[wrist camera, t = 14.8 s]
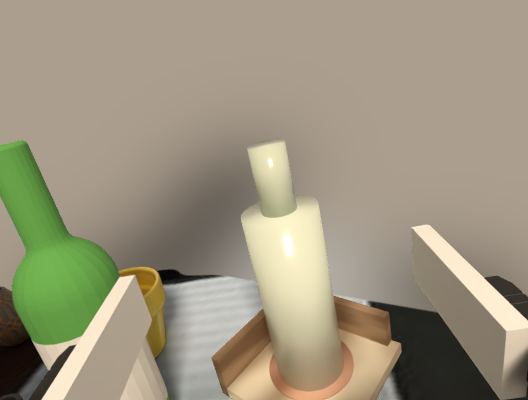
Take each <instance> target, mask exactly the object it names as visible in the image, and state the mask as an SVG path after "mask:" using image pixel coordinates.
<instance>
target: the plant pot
mask: <svg viewBox="0 0 528 400" xmlns="http://www.w3.org/2000/svg"><path fill="white" fill-rule="evenodd" d="M118 272H119V274H120V276H121V277H125V276H131V275H135V276H136V279H137V282H138V284H139V287H140V289H141V292H142V295H143V297H144V300H145V303H146V305H147V308H148V310H149V313H150V316H151V318H152V322H151V325H150V327H149V329H148V332H147V334H146V339H147V342H148V344H149V347H150V349H151V351H152V354H153V356H154V358H156V357H157V356H158V355H159V354H160V353H161V351H162V350H163V348H164V346H165V343H166V336H165V326H164V316H163V305H164V302H165V292H164V288H163V285H162V281H161V279H160V276H159V274H158V272H157V271H156V270H154V269H152V268H148V267H135V268H128V269H124V270H121V271H118Z"/></svg>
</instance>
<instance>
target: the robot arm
mask: <svg viewBox="0 0 528 400" xmlns="http://www.w3.org/2000/svg"><path fill="white" fill-rule="evenodd" d="M412 254H413V278H414V279H415V281H416V282H417V283H418V285H419V286H420V288H421V289H422V290H423V292H424V293H425V295H426V296H427V297H428V299H429V300H430V302H431V303H432V304H433V306H434V307H435V309H436V310H437V312H438V313H439V314H440V316H441V317H442V319H443V320H444V321H445V323H446V324H447V326H448V327H449V328H450V330H451V331H452V333H453V334H454V335H455V337H456V338H457V340H458V341H459V342H460V344H461V345H462V347H463V348H464V349H465V351H466V352H467V354H468V355H469V356H470V358H471V359H472V361H473V362H474V364H475V365H476V366H477V368H478V369H479V371H480V372H481V373H482V375H483V376H484V378H485V379H486V380H487V382H488V383H489V385H490V386H491V387H492V389H493V390H494V392H495V393H496V394H497V396H498V397H499V399H500V400H505V399H512V398H518V397H525V396H526V390H527V382H528V297H527V296H526V295H525V294H523V293H522V291H520V290H519V289H518V288H517V287H516V286H515V285H514V284H512V283H511V282H509V281H507V280H505V279H503V278H500V277H499V276H492V277H486V278H483V277H482V276H481V275H480V274H479V273H478V272H477V271H476V270H475V269H474V268H473V267H472V266H471V265H470V264H469V263H468V262H467V261H466V260H465V259H464V258H463V257H461V255H459V254H458V253H457V252H456V251H455V250H454V249H453V248H452V247H451V246H450V245H449V244H448V243H447V242H446V241H445V240H444V239H443V238H442V237H441V236H440V235H439V234H438V233H437V232H436V231H435V230H434V229H433V228H432V227H431V226H430V225H422V226H416V227H412ZM151 322H152V318H151V316H150V313H149V310H148V308H147V305H146V303H145V300H144V297H143V295H142V292H141V289H140V287H139V284H138V282H137V279H136V276H135V275H131V276H125V277H119V279H118V281H117V282H116V284H115V285H114V287H113V288H112V290H111V292H110V293H109V295H108V296H107V298H106V299H105V301H104V303H103V304H102V306H101V307H100V309H99V310H98V312H97V313H96V315H95V317H94V318H93V320H92V321H91V323H90V324H89V326H88V328H87V329H86V331H85V332H84V334H83V335H82V337H81V339H80V340H79V342H78V343H77V345H71V346H69V347H68V348H67V349H66V350H65V351H64V352H62V353H61V354H60V355H59V356H58V357H57V359H56V360H55V362H54V363H53V365H52V366H51V368H50V370H49V371H48V372H47V374H46V375H45V377H44V380H42V381H41V383H40V384H39V386H38V387H37V389H36V390H35V392H34V393H33V395H32V396H31V398H30V399H29V400H120V398H121V396H122V393H123V391H124V389H125V386H126V384H127V381H128V379H129V376H130V374H131V371H132V369H133V366H134V364H135V361H136V359H137V357H138V354H139V352H140V349H141V347H142V344H143V342H144V339H145V337H146V334H147V332H148V329H149V327H150V325H151ZM0 400H23V399H22V397H21V396H20V395H19V394H14V393H12V394H8V395H4V396H2V397H0Z"/></svg>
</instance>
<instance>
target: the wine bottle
mask: <svg viewBox="0 0 528 400" xmlns="http://www.w3.org/2000/svg"><path fill="white" fill-rule="evenodd" d="M0 196H1V199H2V201H3V203H4V204H5V207H6V209H7V211H8V213H9V215H10V217H11V219H12V221H13V223H14V225H15V227H16V229H17V231H18V233H19V235H20V237H21V239H22V241H23V243H24V246H25V249H26V255H25V257H24V258H23V260H22V261H21V263H20V265H19V266H18V268H17V270H16V273H15V275H14V279H13V284H12V295H13V302H14V306H15V309H16V311H17V313H18V315H19V317H20V319H21V321H22V323H23V324H24V326H25V328H26V330H27V332H28V334H29V335H30V337H31V340H32V342H33V343H34V345H35V347H36V349H37V351H38V353H39V354H40V356H41V358H42V360H43V362H44V364H45V365H46V367H47V369H48V371H49V370H50V368H51V366H52V365H53V363H54V362H55V360H56V359H57V357H58V356H59V355H60V354H61V353H62V352H64V351H65V350H66V349H67V348H68V347H69V346H71V345H77V343H78V342H79V340H80V339H81V337H82V335H83V334H84V332H85V331H86V329H87V328H88V326H89V324H90V323H91V321H92V320H93V318H94V317H95V315H96V313H97V312H98V310H99V309H100V307H101V306H102V304H103V303H104V301H105V299H106V298H107V296H108V295H109V293H110V292H111V290H112V288H113V287H114V285H115V284H116V282H117V281H118V279H119V277H121V276H120V274H119V272H118V269H117V267H116V265H115V263H114V261H113V260H112V258H111V257H110V256H109V255H108V254H107V252H106V251H105V250H103V248H101V247H100V246H99V245H97V244H95V243H94V242H91V241H89V240H86V239H83V238H79V237H74V236H72V235H70V234H69V232H68V231H67V229H66V227H65V225H64V223H63V221H62V218H61V217H60V214H59V212H58V209H57V207H56V205H55V203H54V201H53V198H52V196H51V194H50V192H49V190H48V188H47V186H46V183H45V181H44V179H43V177H42V174H41V172H40V170H39V168H38V166H37V163H36V162H35V159H34V157H33V155H32V153H31V150H30V148H29V146H28V144H27V143H26V142H25V141H17V142H13V143H8V144H4V145H0ZM120 400H171V399H170V396H169V394H168V391H167V388H166V386H165V383H164V381H163V378H162V376H161V373H160V371H159V369H158V366H157V364H156V361H155V359H154V356H153V354H152V351H151V349H150V347H149V344H148V342H147V339H146V337H145V339H144V342H143V344H142V347H141V349H140V352H139V354H138V357H137V359H136V361H135V364H134V366H133V369H132V371H131V374H130V376H129V379H128V381H127V384H126V386H125V389H124V391H123V393H122V396H121V398H120Z"/></svg>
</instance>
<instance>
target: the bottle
mask: <svg viewBox="0 0 528 400" xmlns="http://www.w3.org/2000/svg"><path fill="white" fill-rule="evenodd" d="M247 150H248V155H249V159H250V164H251V168H252V173H253V177H254V182H255V186H256V190H257V195H258V199H259V202H258V203H256V204H254V205H252V206H250V207H249V208H247V209H246V210H245V211H244V212H243V214H242V216H241V221H242V225H243V229H244V233H245V237H246V241H247V245H248V249H249V253H250V257H251V261H252V265H253V270H254V273H255V277H256V282H257V286H258V290H259V294H260V298H261V302H262V306H263V310H264V314H265V318H266V322H267V326H268V330H269V334H270V338H271V342H272V346H273V350H274V354H275V358H276V362H277V366H278V370H279V374H280V377H281V378H282V380H283V381H284V382H285V383H286V384H287V385H288V386H290V387H292V388H294V389H296V390H300V391H307V392H311V391H318V390H322V389H324V388H327V387H328V386H330V385H332V384H333V383H334V382H335V381H336V380H337V379H338V378H339V377H340V375H341V373H342V371H343V367H344V360H343V353H342V347H341V341H340V335H339V329H338V322H337V316H336V310H335V304H334V297H333V291H332V285H331V279H330V273H329V266H328V260H327V254H326V248H325V242H324V235H323V229H322V223H321V217H320V211H319V205H318V201H317V200H316V199H314V198H312V197H309V196H304V195H295V193H294V188H293V182H292V177H291V172H290V166H289V161H288V155H287V150H286V144H285V140H282V139H276V140H268V141H263V142H259V143H256V144H253V145H251V146H249V147H248V148H247Z"/></svg>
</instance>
